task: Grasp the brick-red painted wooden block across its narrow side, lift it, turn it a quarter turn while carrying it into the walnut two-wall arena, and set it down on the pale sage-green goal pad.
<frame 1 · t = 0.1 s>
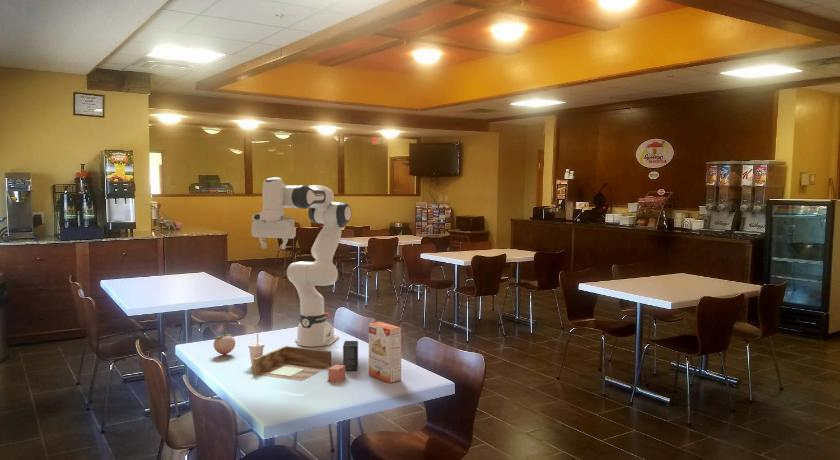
hand: (273, 248, 252), 48 cm above the table, fingers open, 8 cm apart
cracker box: (384, 378, 231), on the table
arena: (293, 371, 238), on the table
box: (350, 369, 244), on the table
smoothie: (256, 368, 244), on the table
block: (336, 379, 229), on the table
decorative fruit: (225, 355, 262), on the table
goal pad: (286, 371, 236), resting on arena
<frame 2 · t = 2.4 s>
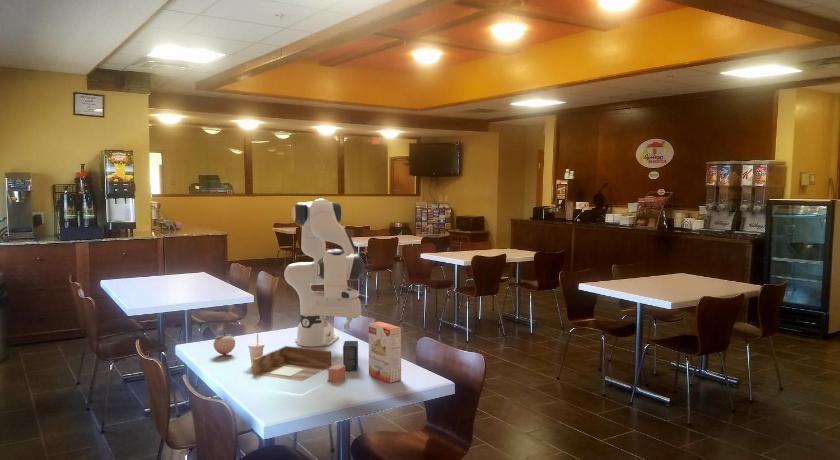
hand: (335, 327, 228), 20 cm above the table, fingers open, 8 cm apart
nothing on the table moved.
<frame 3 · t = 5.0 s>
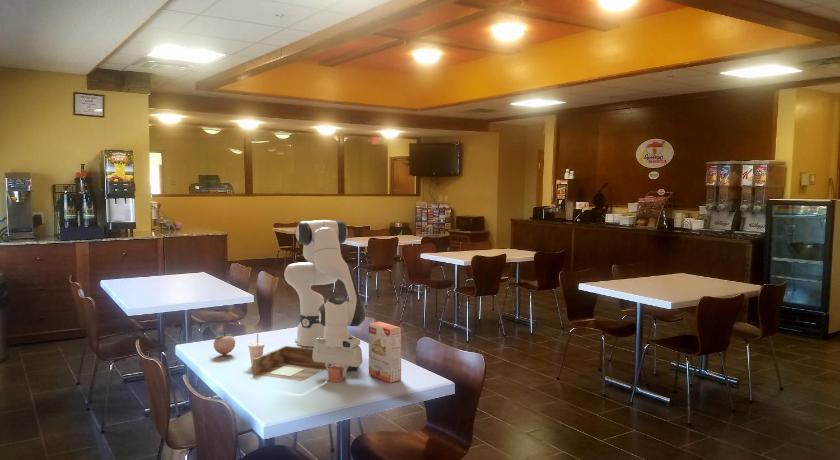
hand: (336, 375, 229), 2 cm above the table, fingers closed on block, 4 cm apart
block: (336, 379, 229), on the table, touching gripper
everything else where it was.
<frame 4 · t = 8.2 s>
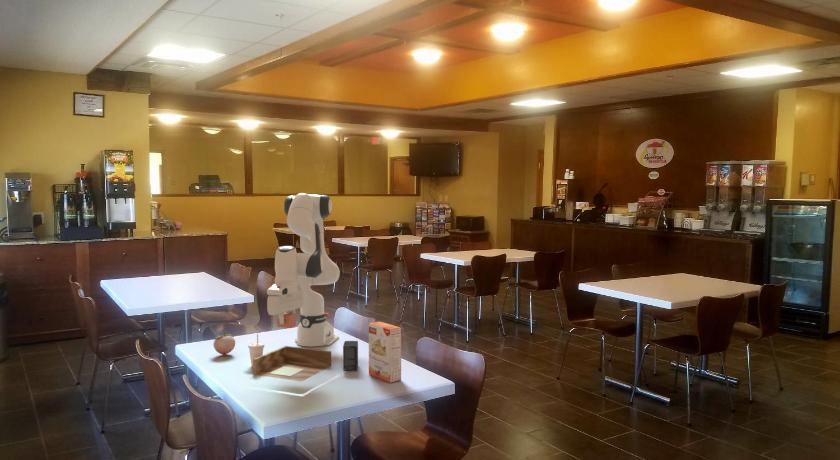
hand: (286, 322, 235), 21 cm above the table, fingers closed on block, 4 cm apart
block: (286, 326, 235), point 19 cm above the table, touching gripper
everything else where it was.
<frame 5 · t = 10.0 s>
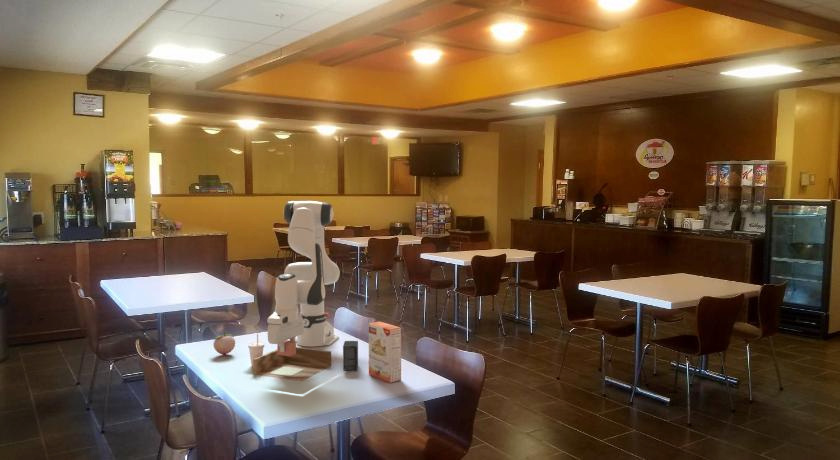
hand: (286, 350, 235), 9 cm above the table, fingers closed on block, 4 cm apart
block: (286, 354, 235), point 8 cm above the table, touching gripper
everything else where it was.
when the fingers open (4 cm above the table, at t = 11.4 s): block drops 1 cm, resting on goal pad.
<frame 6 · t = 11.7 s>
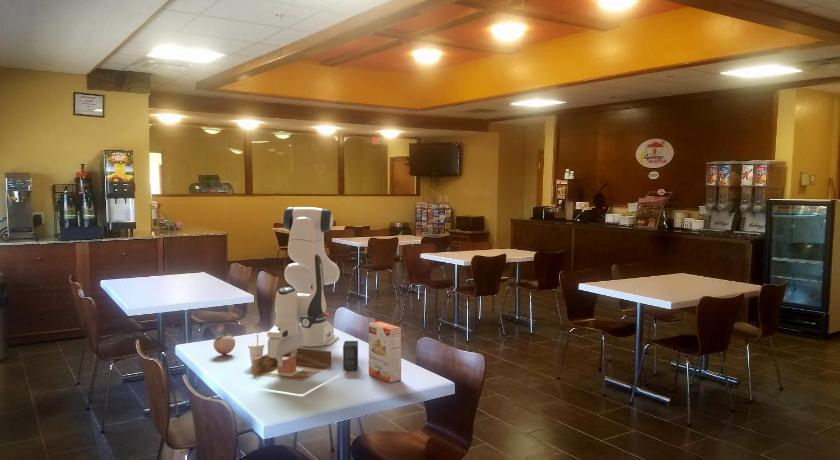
hand: (286, 363, 236), 4 cm above the table, fingers open, 6 cm apart
block: (286, 371, 236), point 1 cm above the table, touching goal pad
everything else where it was.
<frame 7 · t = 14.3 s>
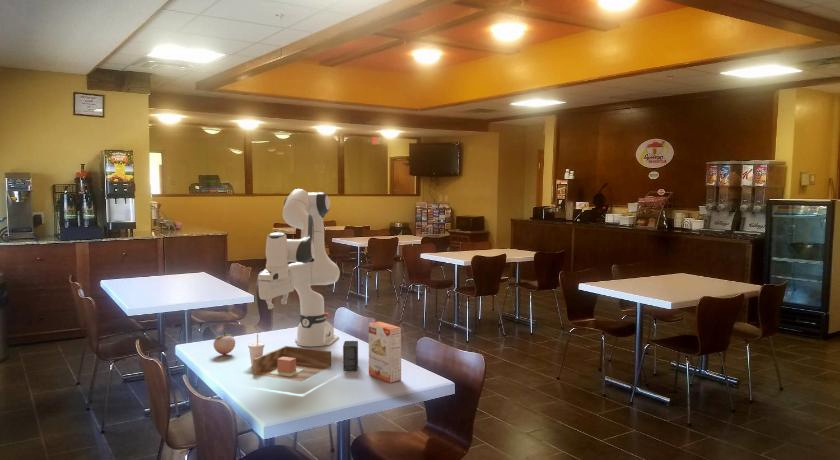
hand: (277, 306, 242), 25 cm above the table, fingers open, 8 cm apart
nothing on the table moved.
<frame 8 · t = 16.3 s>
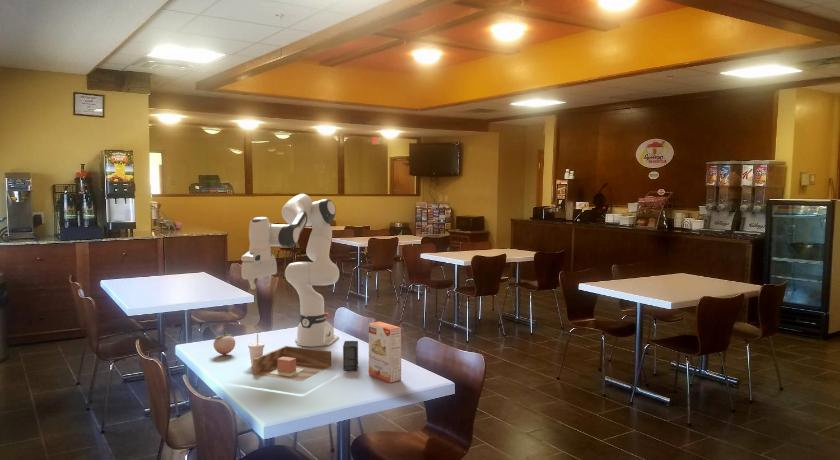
hand: (260, 287, 254), 31 cm above the table, fingers open, 8 cm apart
nothing on the table moved.
at the end: block inside the target area (0.1 cm from its centre), point 1.0 cm above the table; block tilted 0°; the gripper is holding nothing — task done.
